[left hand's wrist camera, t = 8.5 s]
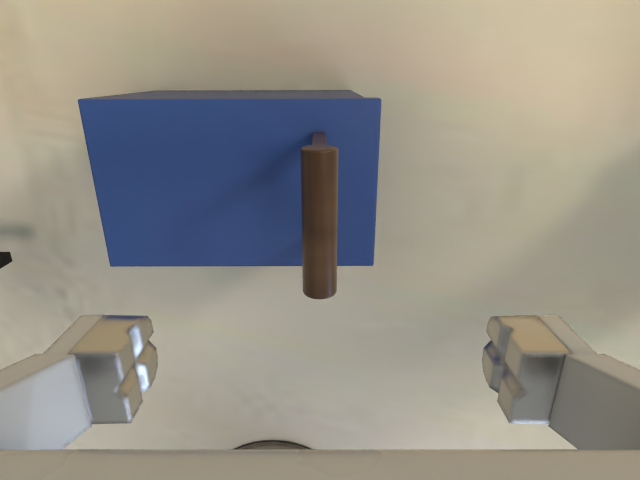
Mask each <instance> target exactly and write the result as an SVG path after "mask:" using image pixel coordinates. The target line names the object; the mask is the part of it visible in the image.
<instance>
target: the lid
mask: <svg viewBox="0 0 640 480" xmlns="http://www.w3.org/2000/svg"><path fill="white" fill-rule="evenodd" d="M78 103H79V109H80V114H81V119H82V124H83V129H84V134H85V139H86V144H87V149H88V154H89V159H90V165H91V170H92V175H93V180H94V185H95V190H96V195H97V200H98V205H99V210H100V215H101V221H102V226H103V231H104V236H105V241H106V246H107V251H108V256H109V261H110V266H303V292H304V294H305V295H306V296H308V297H310V298H313V299H326V298H330V297H332V296H333V295H334V294H335V293H336V289H337V266H373V263H374V242H375V221H376V200H377V179H378V158H379V137H380V116H381V99H380V98H85V99H79V100H78Z"/></svg>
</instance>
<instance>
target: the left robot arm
mask: <svg viewBox="0 0 640 480" xmlns="http://www.w3.org/2000/svg"><path fill="white" fill-rule="evenodd" d="M152 334H153V327H152V322H151V319H150V318H149V317H148V316H125V315H85V316H81V317H80V318H79V319H78V320H77V321H76V322H75V323H74V324H73V325H72V326H71V327H70V328H69V329H68V330H67V331H66V332H65V333H64V334H62V335H61V336H60V337H59V338H58V339H57V340H56V341H55V342H54V343H53V344H52V345H51V346H50V347H49V348H48V349H47V350H46V351H45V352H44V353H43V354H35V355H33V356H31V357H28V358H26V359H24V360H21V361H19V362H17V363H15V364H12V365H10V366H8V367H6V368H3V369H1V370H0V480H640V370H639V369H637V368H634V367H632V366H630V365H628V364H625V363H623V362H621V361H618V360H616V359H614V358H612V357H609V356H607V355H605V354H597V353H596V352H595V351H594V350H593V349H592V348H591V347H590V346H589V345H588V344H587V343H586V342H585V341H584V340H583V339H582V338H581V337H580V336H579V335H578V334H577V333H576V332H575V331H574V330H573V329H572V328H571V327H570V326H569V325H568V324H567V323H566V322H565V321H564V320H563V319H562V318H561V317H559V316H557V315H531V316H494V317H491V318H490V320H489V322H488V326H487V334H488V335H489V337H490V338H491V341H490V342H489V343H488V344H487V345H486V346H485V347H484V350H483V358H482V362H483V372H484V375H485V379H486V381H487V383H488V385H489V387H490V388H491V389H493V390H494V391H496V392H497V393H499V394H498V400H497V402H498V403H499V405H500V407H501V409H502V411H503V413H504V414H505V416H506V418H507V420H508V422H509V423H526V424H549V425H548V426H549V427H550V428H552V429H553V430H554V431H555V432H557V433H558V434H559V435H561V436H562V437H563V438H564V439H566V440H567V441H568V442H570V443H571V444H572V445H573V446H575V447H576V448H577V449H578V450H62V449H63V448H64V447H66V446H67V445H68V444H69V443H71V442H72V441H73V440H74V439H76V438H77V437H78V436H80V435H81V434H82V433H83V432H85V431H86V430H87V429H89V428H90V427H91V426H92V425H91V424H113V423H131V422H132V420H133V418H134V416H135V414H136V413H137V411H138V409H139V407H140V405H141V403H142V402H143V400H142V394H141V393H143V392H144V391H146V390H147V389H149V388H150V387H151V385H152V383H153V381H154V379H155V375H156V371H157V350H156V347H155V346H154V345H153V344H152V343H151V342H150V341H149V338H150V337H151V335H152Z"/></svg>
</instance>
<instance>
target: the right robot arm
mask: <svg viewBox="0 0 640 480" xmlns="http://www.w3.org/2000/svg"><path fill="white" fill-rule="evenodd" d="M10 262H12V258H11V255H10V252H0V268H2V267H4V266H5V265H7V264H9V263H10ZM236 450H310V449H308V448H305V447H302V446H299V445H295V444H291V443H285V442H260V443H254V444H250V445H246V446H243V447H241V448H238V449H236Z"/></svg>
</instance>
